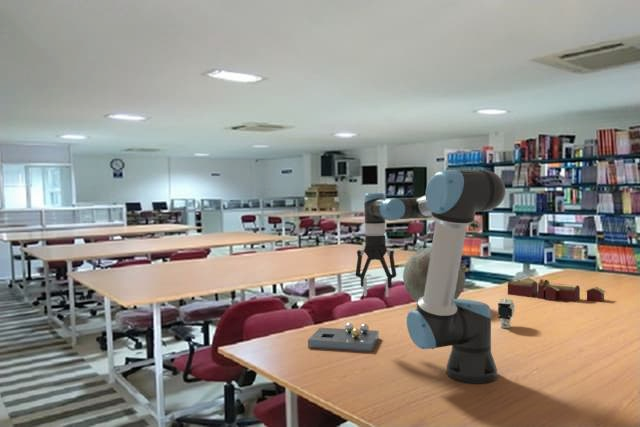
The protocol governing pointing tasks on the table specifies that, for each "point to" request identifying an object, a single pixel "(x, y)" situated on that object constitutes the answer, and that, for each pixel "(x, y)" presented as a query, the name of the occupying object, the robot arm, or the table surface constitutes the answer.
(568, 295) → the toy houses
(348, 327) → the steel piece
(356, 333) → the brass ball
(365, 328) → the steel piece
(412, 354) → the table surface
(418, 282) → the mottled grey sphere
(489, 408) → the table surface
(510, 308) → the pneumatic valve
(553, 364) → the table surface
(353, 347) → the hole plate
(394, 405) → the table surface
